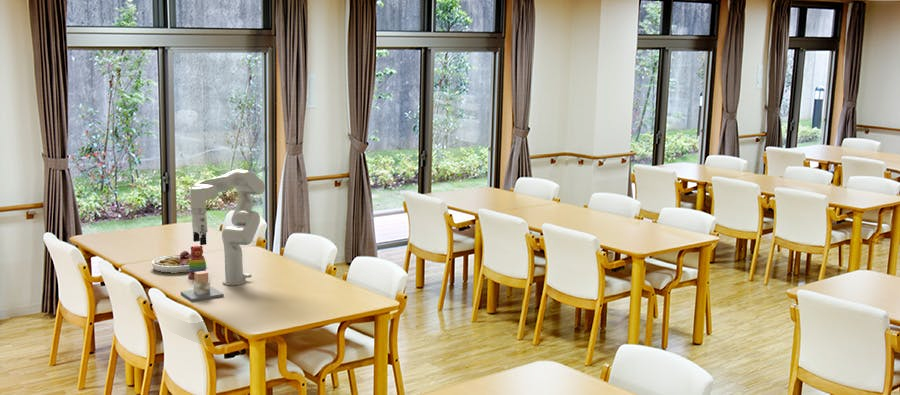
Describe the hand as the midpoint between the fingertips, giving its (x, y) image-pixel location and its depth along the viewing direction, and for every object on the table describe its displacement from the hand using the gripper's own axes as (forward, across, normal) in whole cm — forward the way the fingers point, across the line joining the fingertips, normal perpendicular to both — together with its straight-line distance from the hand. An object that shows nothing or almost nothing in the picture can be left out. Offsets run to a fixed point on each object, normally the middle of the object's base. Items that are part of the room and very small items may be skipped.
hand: (199, 243), depth 486 cm
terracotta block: (+21, 0, 0) cm, 21 cm away
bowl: (+29, +65, -10) cm, 71 cm away
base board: (+28, 0, 0) cm, 28 cm away
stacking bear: (+28, +39, -12) cm, 50 cm away
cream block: (+27, 0, 0) cm, 27 cm away
